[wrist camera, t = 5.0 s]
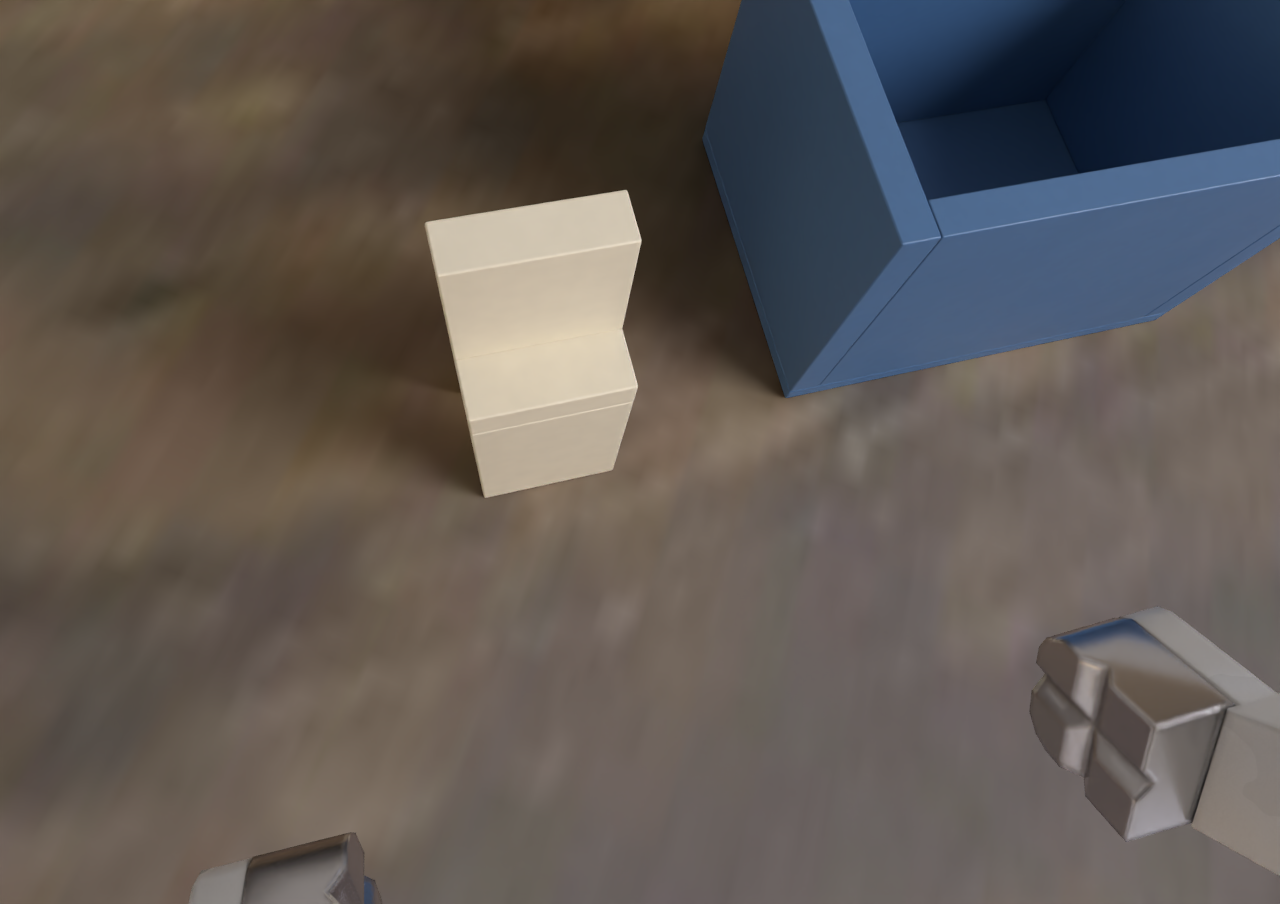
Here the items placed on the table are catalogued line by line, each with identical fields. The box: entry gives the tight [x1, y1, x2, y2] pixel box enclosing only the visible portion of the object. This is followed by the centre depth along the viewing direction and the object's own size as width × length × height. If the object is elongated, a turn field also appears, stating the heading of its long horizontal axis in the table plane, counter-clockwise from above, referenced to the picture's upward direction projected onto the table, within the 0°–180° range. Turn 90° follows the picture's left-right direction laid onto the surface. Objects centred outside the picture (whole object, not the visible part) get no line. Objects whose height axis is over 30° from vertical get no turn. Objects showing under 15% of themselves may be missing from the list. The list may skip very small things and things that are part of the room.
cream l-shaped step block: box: [425, 190, 642, 498], centre depth 22 cm, size 4×4×11 cm
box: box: [702, 0, 1280, 398], centre depth 27 cm, size 14×10×10 cm
